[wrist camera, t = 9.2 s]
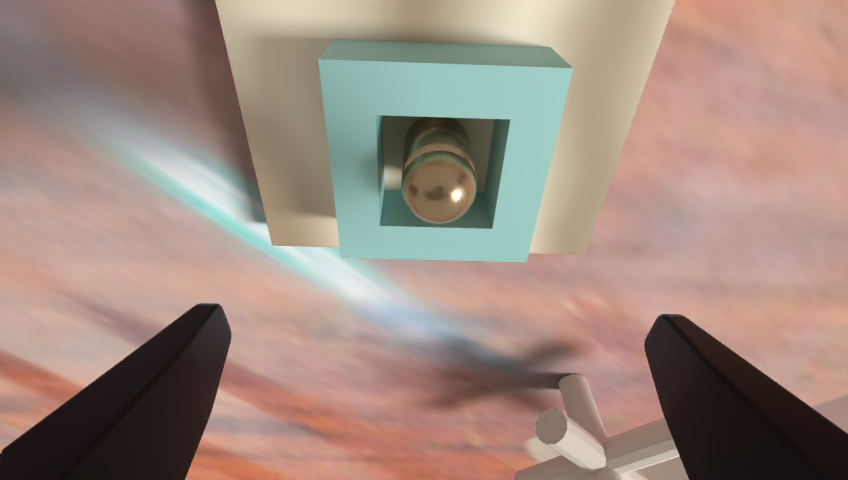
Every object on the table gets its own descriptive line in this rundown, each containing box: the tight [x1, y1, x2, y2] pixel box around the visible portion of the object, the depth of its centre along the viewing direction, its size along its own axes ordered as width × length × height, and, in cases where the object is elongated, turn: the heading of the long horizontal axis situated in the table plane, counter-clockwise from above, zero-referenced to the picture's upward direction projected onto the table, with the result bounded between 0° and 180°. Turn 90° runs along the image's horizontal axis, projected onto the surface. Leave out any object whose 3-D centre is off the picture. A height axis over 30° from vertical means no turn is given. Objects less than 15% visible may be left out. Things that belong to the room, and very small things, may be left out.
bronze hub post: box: [401, 117, 477, 224], centre depth 14 cm, size 2×2×4 cm
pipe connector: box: [515, 374, 679, 480], centre depth 23 cm, size 10×10×10 cm
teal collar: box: [318, 39, 573, 262], centre depth 14 cm, size 7×7×2 cm
